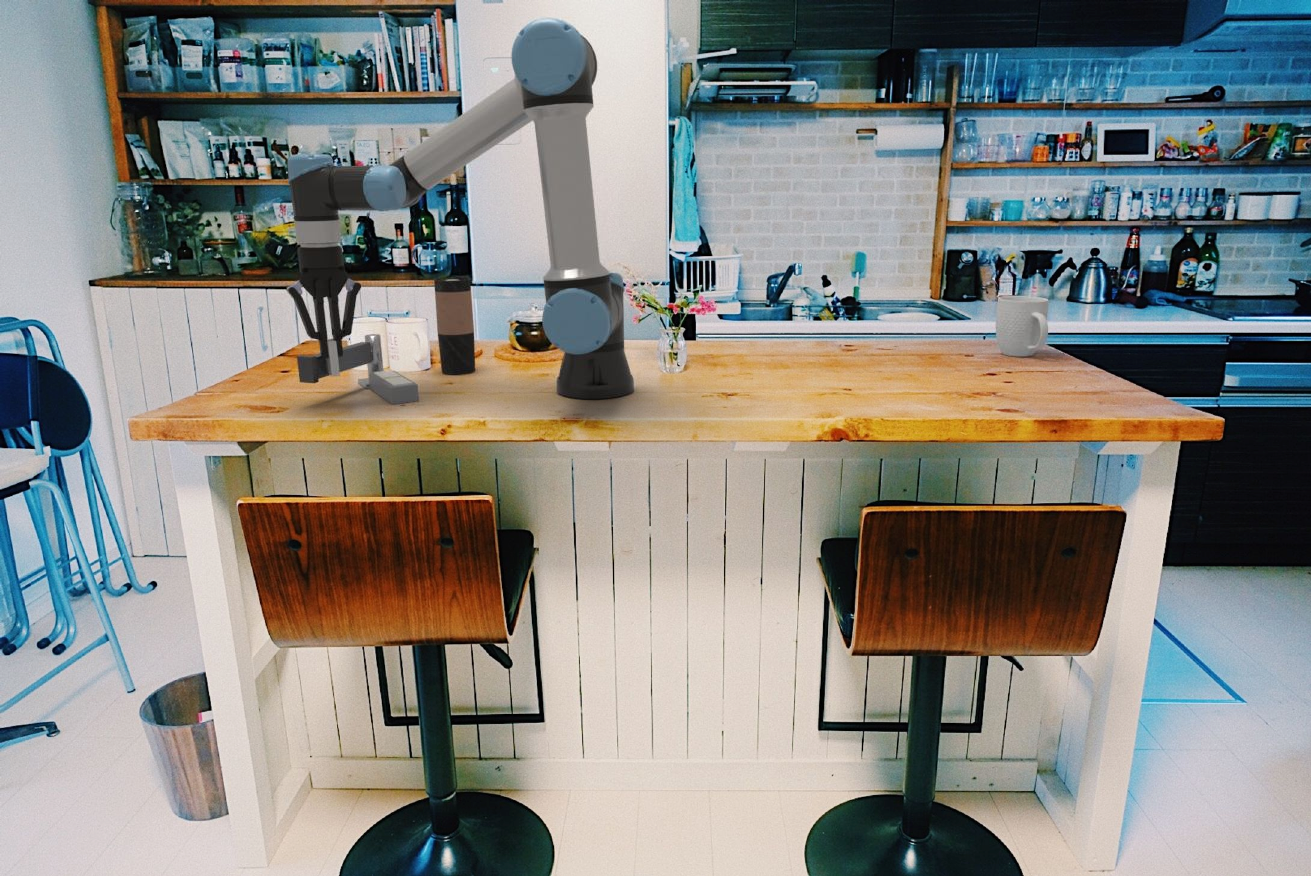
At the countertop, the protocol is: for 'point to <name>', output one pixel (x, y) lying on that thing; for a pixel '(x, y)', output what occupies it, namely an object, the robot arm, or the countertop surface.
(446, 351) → the travel mug
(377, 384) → the label block
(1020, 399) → the countertop surface
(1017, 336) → the mug
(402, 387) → the label block
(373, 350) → the post
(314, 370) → the bar
